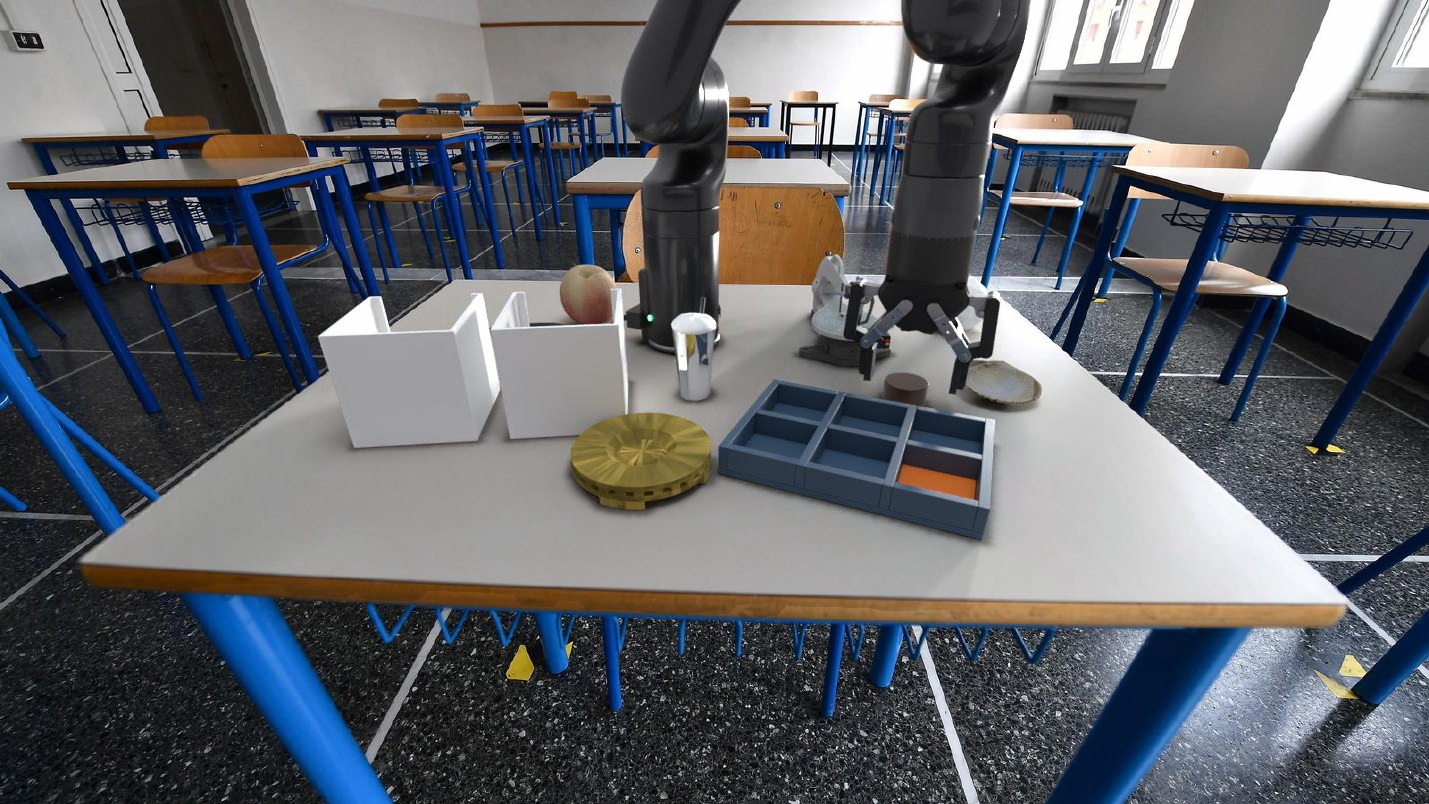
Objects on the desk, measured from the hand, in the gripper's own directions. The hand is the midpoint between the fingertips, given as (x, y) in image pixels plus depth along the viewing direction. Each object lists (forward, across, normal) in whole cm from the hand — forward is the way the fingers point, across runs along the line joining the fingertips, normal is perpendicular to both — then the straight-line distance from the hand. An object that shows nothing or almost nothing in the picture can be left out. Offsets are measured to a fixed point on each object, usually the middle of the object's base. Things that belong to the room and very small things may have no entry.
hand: (909, 384), depth 63 cm
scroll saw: (+2, +11, -15) cm, 19 cm away
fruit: (+2, +44, -7) cm, 45 cm away
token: (+2, 0, 0) cm, 2 cm away
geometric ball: (+2, -3, -25) cm, 25 cm away
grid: (+2, +2, +13) cm, 13 cm away
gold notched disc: (+2, +20, +22) cm, 29 cm away
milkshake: (+2, +21, +7) cm, 23 cm away
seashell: (+2, -9, -6) cm, 11 cm away
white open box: (+2, +38, +19) cm, 42 cm away
